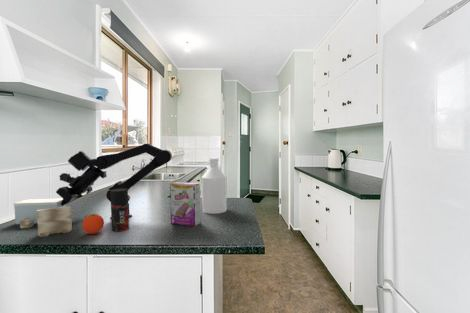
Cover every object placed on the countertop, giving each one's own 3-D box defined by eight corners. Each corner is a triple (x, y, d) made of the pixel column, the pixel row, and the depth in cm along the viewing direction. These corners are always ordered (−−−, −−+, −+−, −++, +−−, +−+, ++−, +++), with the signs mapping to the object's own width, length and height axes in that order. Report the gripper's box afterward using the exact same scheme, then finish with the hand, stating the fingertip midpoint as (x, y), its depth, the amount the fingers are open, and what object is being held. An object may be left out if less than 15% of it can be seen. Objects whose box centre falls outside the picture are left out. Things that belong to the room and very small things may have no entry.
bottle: (214, 215, 112) (213, 159, 111) (196, 210, 120) (196, 158, 119) (232, 209, 121) (231, 158, 120) (214, 206, 129) (214, 157, 128)
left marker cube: (33, 225, 101) (33, 218, 100) (28, 227, 98) (28, 220, 97) (25, 225, 100) (25, 218, 100) (20, 228, 97) (19, 220, 97)
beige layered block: (71, 227, 97) (70, 204, 97) (72, 231, 93) (71, 207, 93) (38, 233, 91) (37, 209, 91) (38, 237, 87) (36, 212, 87)
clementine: (75, 235, 90) (74, 215, 89) (92, 228, 96) (92, 210, 96) (92, 237, 87) (91, 217, 86) (108, 231, 93) (108, 212, 93)
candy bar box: (170, 224, 101) (169, 183, 100) (176, 220, 105) (176, 181, 104) (195, 227, 97) (194, 184, 96) (201, 223, 102) (200, 182, 101)
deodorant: (118, 233, 91) (116, 191, 90) (108, 230, 94) (107, 190, 94) (132, 228, 96) (131, 189, 95) (122, 225, 99) (121, 187, 99)
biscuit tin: (67, 217, 111) (66, 198, 111) (57, 222, 104) (56, 202, 103) (27, 219, 110) (26, 199, 109) (14, 224, 102) (13, 203, 102)
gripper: (84, 163, 116) (59, 188, 115) (60, 167, 97) (31, 196, 97) (102, 180, 117) (78, 204, 117) (82, 187, 98) (53, 216, 98)
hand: (61, 204), depth 107 cm, fingers closed, pressing on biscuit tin
